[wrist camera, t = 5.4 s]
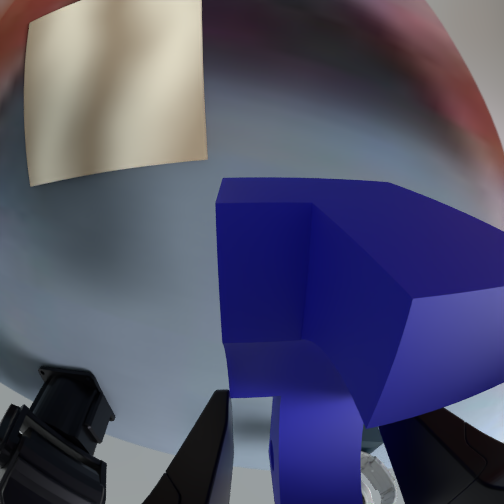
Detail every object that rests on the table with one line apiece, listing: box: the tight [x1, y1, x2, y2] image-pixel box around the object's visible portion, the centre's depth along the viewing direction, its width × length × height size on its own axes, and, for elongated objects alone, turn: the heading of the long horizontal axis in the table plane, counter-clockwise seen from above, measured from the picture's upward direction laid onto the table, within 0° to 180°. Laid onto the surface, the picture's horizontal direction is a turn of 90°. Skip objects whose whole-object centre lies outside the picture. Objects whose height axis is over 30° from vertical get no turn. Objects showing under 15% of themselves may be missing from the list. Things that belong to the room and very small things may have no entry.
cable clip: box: [215, 178, 504, 504], centre depth 7 cm, size 12×4×6 cm, turn 0°
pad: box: [24, 0, 208, 187], centre depth 13 cm, size 12×12×1 cm
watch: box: [361, 424, 397, 504], centre depth 21 cm, size 6×8×11 cm
